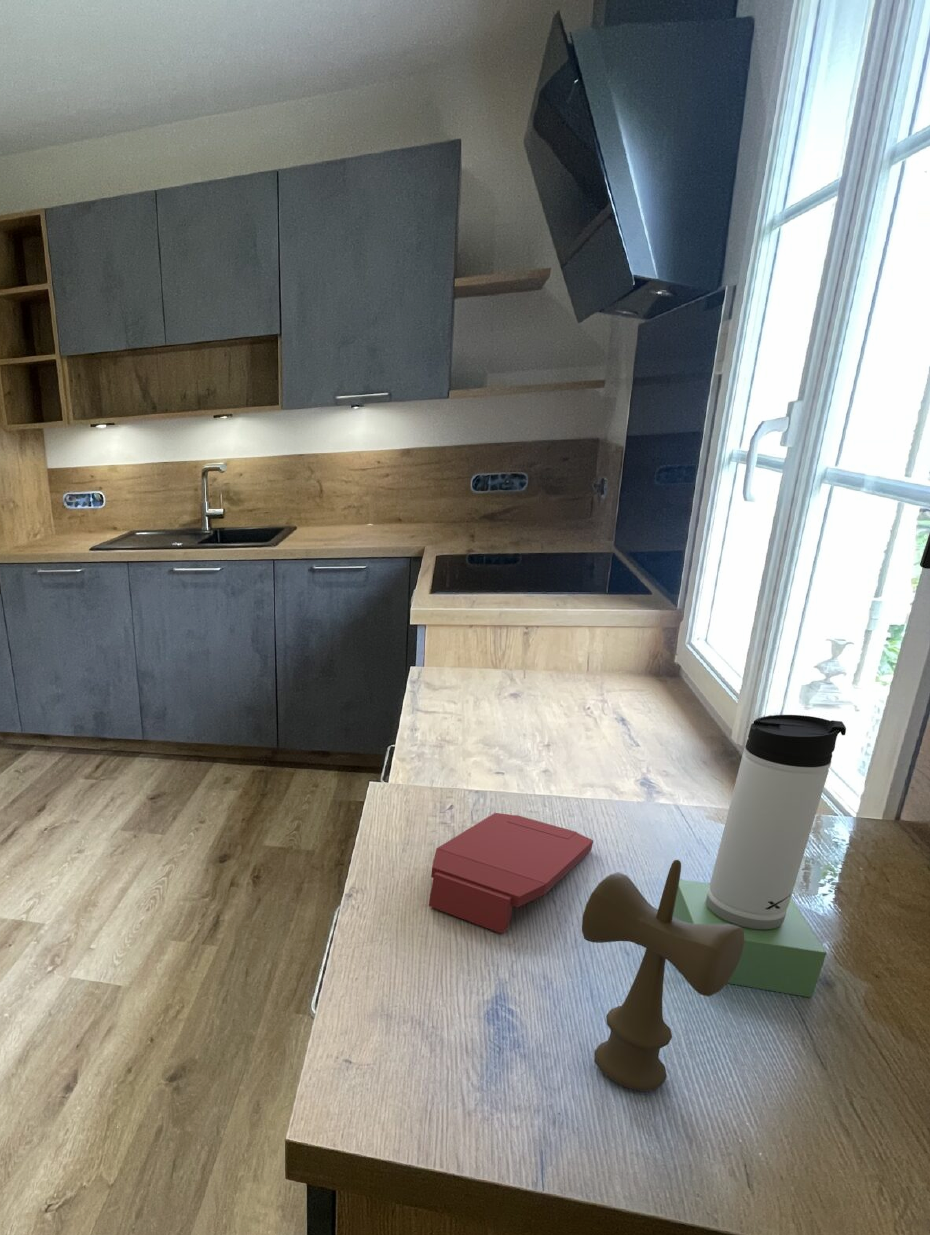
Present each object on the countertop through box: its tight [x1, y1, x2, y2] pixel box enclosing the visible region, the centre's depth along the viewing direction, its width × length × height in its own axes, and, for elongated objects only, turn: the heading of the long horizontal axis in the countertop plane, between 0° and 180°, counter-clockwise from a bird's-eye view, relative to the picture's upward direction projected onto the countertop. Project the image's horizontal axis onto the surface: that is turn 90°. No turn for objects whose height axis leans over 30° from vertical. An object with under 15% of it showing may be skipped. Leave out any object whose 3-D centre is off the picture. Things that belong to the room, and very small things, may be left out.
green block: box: [673, 878, 827, 998], centre depth 77 cm, size 10×10×5 cm
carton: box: [428, 812, 594, 934], centre depth 93 cm, size 12×5×25 cm
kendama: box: [581, 859, 745, 1092], centre depth 61 cm, size 6×10×20 cm, turn 34°
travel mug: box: [706, 714, 847, 930], centre depth 73 cm, size 6×7×20 cm
